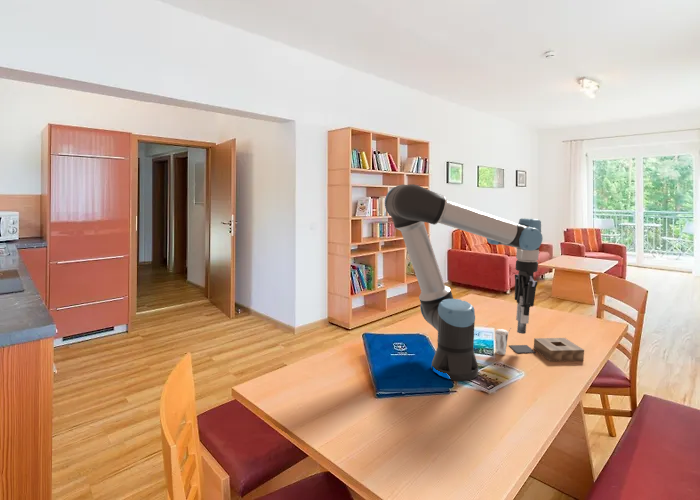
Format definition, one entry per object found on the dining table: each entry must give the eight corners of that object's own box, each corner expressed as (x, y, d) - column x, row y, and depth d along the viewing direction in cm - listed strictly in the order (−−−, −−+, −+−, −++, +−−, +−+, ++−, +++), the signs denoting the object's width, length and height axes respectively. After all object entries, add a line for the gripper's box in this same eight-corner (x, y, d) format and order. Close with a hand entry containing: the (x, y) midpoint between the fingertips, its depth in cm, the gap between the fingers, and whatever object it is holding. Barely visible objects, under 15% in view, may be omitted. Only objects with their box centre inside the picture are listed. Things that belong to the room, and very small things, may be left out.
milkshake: (510, 356, 145) (512, 329, 144) (495, 355, 146) (496, 329, 145) (508, 351, 150) (509, 325, 148) (493, 350, 151) (494, 325, 149)
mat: (517, 353, 148) (517, 352, 148) (509, 346, 155) (509, 345, 155) (535, 353, 148) (535, 352, 148) (526, 345, 155) (526, 344, 155)
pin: (519, 333, 149) (522, 297, 147) (515, 330, 152) (518, 295, 150) (527, 333, 149) (530, 297, 147) (523, 331, 152) (526, 295, 150)
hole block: (550, 361, 140) (550, 350, 140) (533, 348, 152) (534, 338, 152) (583, 360, 141) (584, 349, 140) (564, 347, 153) (565, 337, 152)
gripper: (548, 264, 139) (542, 328, 142) (526, 257, 154) (522, 315, 158) (527, 263, 138) (522, 328, 142) (507, 256, 154) (503, 315, 157)
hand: (522, 321), depth 150 cm, fingers closed on pin, 3 cm apart
